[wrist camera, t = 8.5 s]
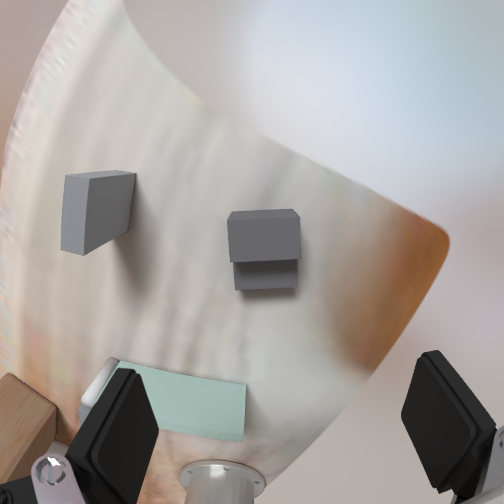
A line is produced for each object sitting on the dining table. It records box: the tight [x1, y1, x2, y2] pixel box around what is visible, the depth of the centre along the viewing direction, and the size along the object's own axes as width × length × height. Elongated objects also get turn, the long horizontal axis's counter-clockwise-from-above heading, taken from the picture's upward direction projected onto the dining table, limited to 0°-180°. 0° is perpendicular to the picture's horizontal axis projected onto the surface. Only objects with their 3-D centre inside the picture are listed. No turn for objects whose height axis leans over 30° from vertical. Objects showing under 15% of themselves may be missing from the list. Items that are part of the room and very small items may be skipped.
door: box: [81, 357, 246, 442], centre depth 26 cm, size 15×1×7 cm, turn 81°
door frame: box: [61, 170, 136, 426], centre depth 24 cm, size 26×2×8 cm, turn 168°
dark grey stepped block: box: [227, 209, 301, 290], centre depth 24 cm, size 6×5×4 cm
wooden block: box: [0, 373, 57, 484], centre depth 24 cm, size 10×10×20 cm
